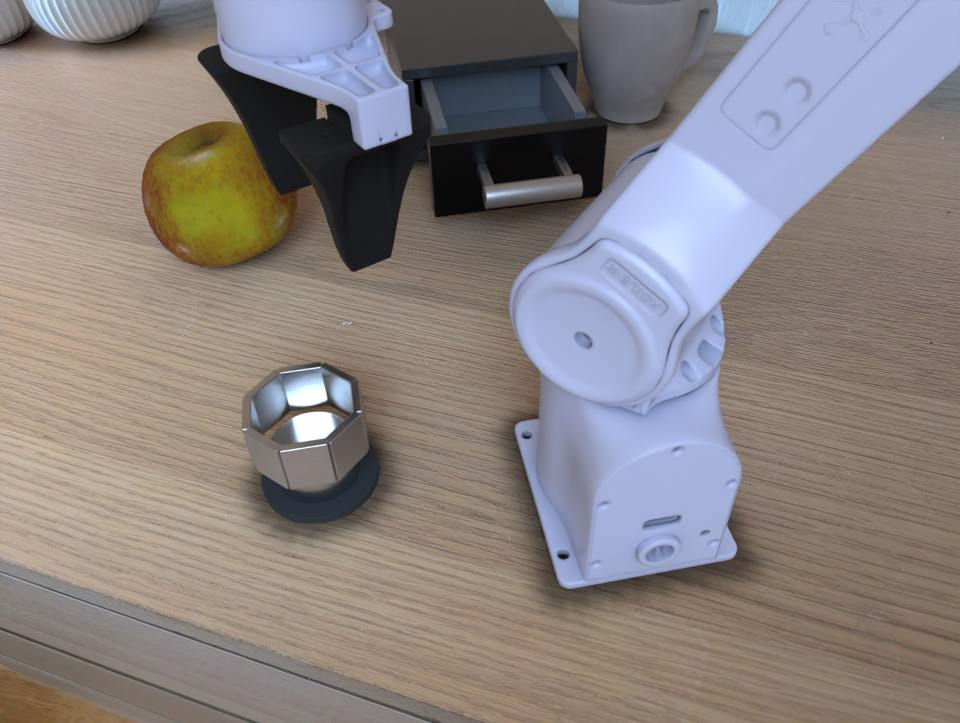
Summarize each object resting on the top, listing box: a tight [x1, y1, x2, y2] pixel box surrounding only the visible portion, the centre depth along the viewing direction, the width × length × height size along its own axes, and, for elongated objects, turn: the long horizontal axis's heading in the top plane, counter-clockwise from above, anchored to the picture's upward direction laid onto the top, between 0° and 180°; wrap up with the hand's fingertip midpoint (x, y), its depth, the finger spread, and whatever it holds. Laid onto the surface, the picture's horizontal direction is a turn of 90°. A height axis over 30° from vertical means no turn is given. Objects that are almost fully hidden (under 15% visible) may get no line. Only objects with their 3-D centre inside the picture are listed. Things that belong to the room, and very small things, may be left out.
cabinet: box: [381, 0, 579, 162], centre depth 64 cm, size 14×13×7 cm
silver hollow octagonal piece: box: [241, 361, 370, 503], centre depth 38 cm, size 5×5×5 cm
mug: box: [577, 0, 719, 124], centre depth 63 cm, size 12×9×10 cm
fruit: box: [141, 120, 298, 268], centre depth 51 cm, size 10×9×8 cm
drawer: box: [417, 64, 609, 219], centre depth 56 cm, size 17×11×5 cm
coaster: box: [260, 441, 380, 525], centre depth 39 cm, size 6×6×1 cm
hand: (330, 221), depth 39 cm, fingers open, 7 cm apart
